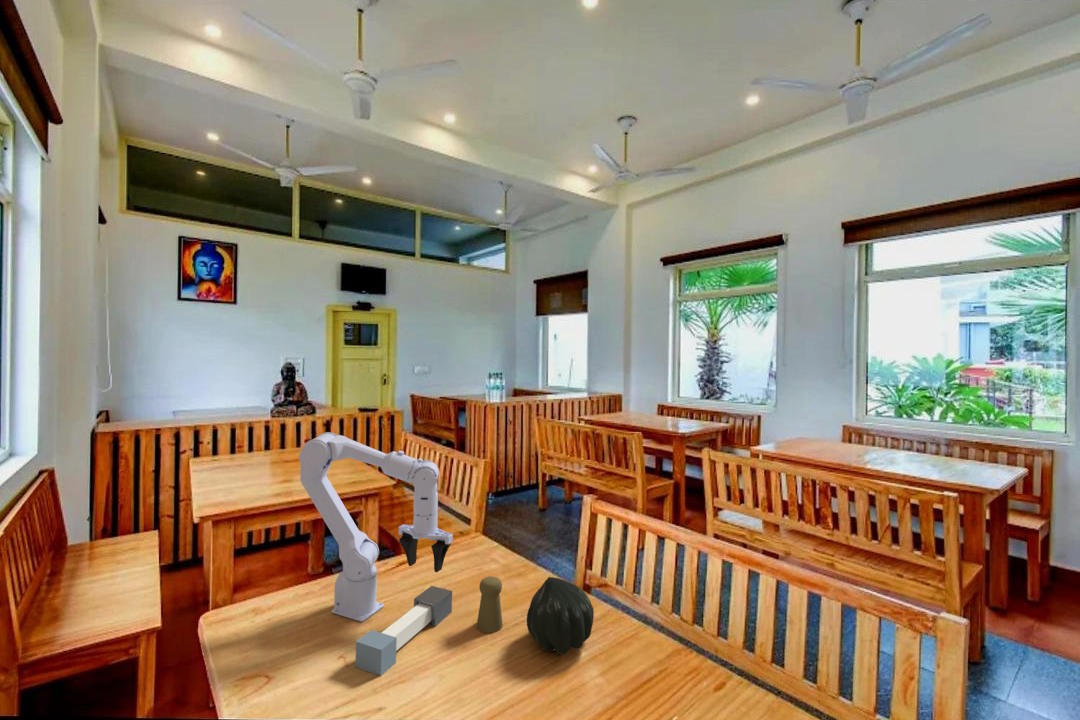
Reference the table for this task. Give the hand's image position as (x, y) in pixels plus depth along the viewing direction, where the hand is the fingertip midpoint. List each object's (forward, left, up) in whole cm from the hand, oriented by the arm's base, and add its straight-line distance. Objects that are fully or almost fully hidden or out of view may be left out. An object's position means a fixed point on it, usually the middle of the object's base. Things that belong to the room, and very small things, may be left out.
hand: (425, 567), depth 121 cm
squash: (+35, +2, -11) cm, 36 cm away
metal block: (+4, -2, -10) cm, 11 cm away
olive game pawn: (+18, +1, -11) cm, 21 cm away
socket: (+4, -21, -10) cm, 24 cm away
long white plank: (+4, -13, -10) cm, 17 cm away
